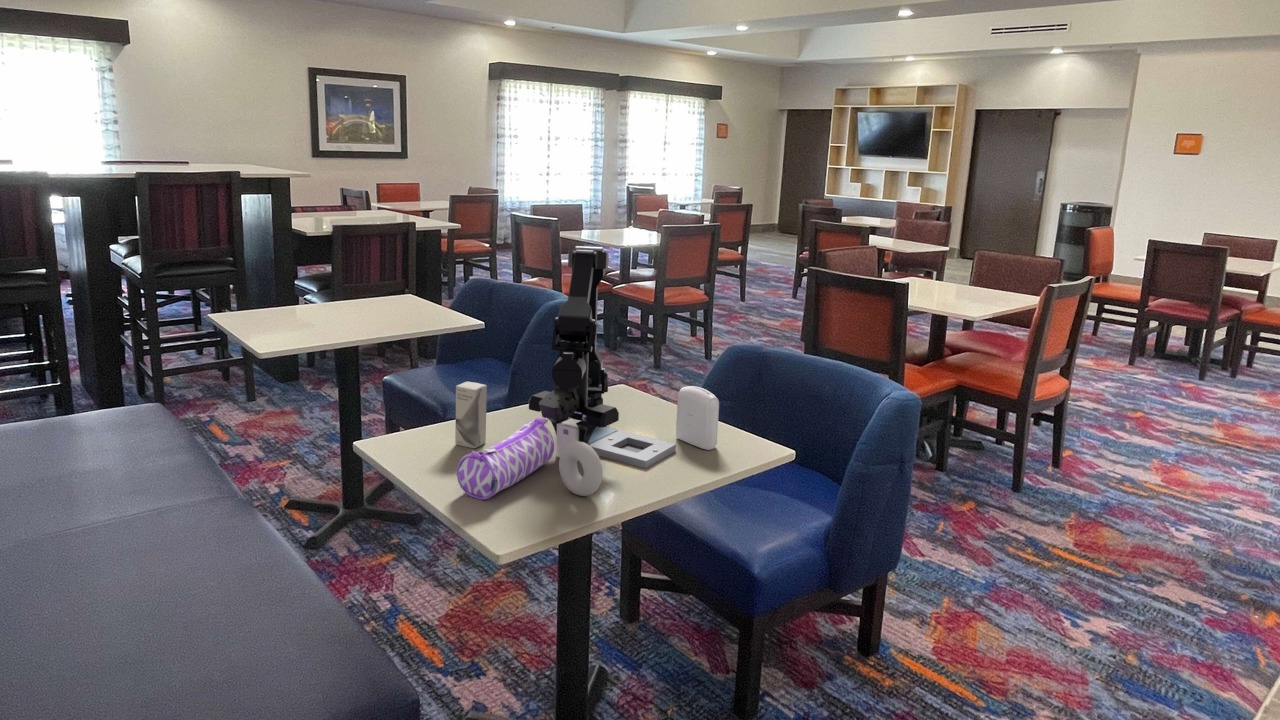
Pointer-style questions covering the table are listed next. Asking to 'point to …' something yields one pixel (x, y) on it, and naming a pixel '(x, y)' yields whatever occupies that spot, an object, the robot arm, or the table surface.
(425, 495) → the table surface
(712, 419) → the photo printer
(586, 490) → the donut
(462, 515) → the table surface
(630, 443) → the outlet plate
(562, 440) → the block
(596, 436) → the phone
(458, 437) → the box
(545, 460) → the pencil case
